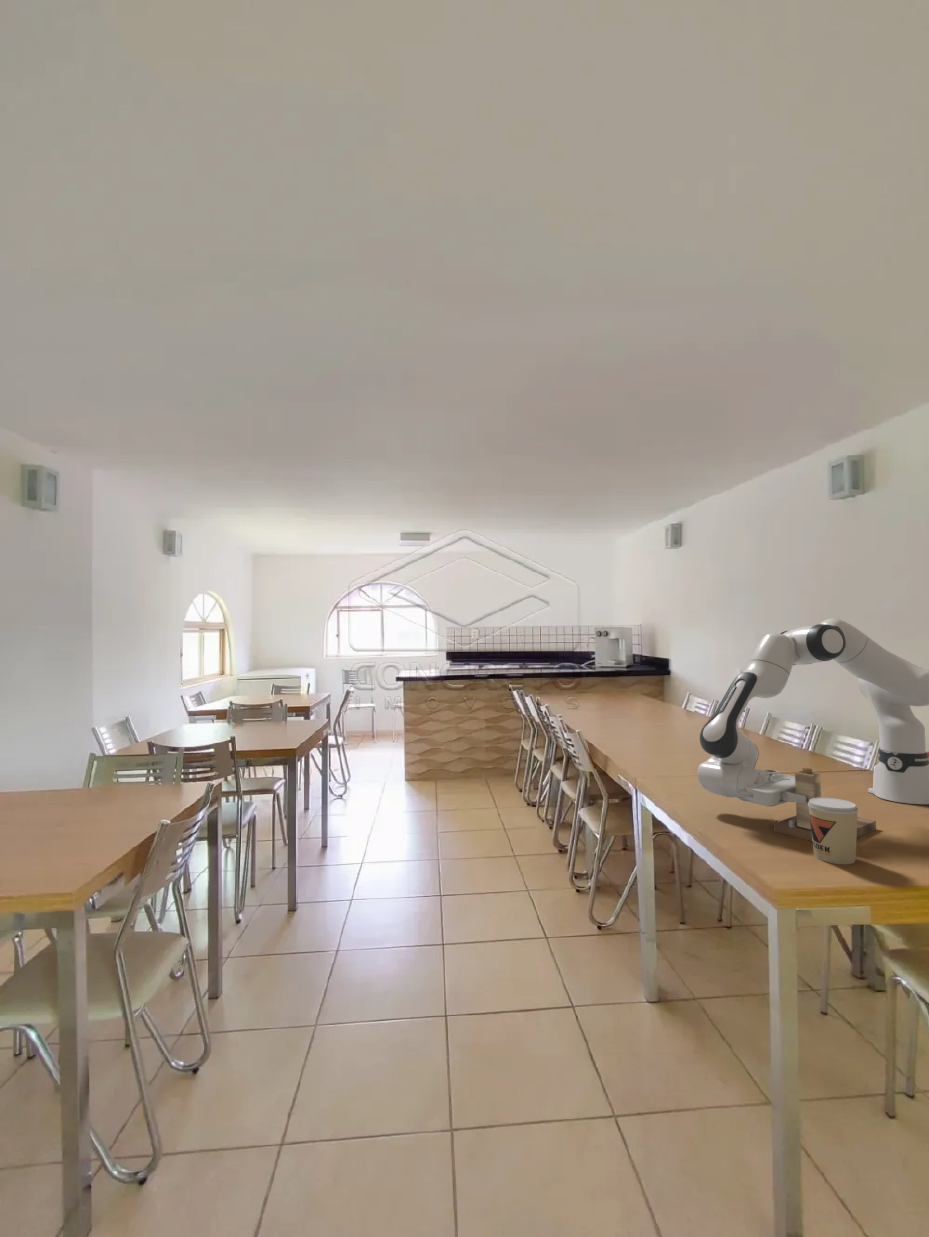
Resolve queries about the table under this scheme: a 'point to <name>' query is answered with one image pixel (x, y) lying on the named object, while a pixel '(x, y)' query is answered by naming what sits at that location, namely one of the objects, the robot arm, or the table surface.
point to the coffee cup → (833, 829)
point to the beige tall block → (808, 786)
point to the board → (792, 829)
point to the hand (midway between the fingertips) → (812, 797)
